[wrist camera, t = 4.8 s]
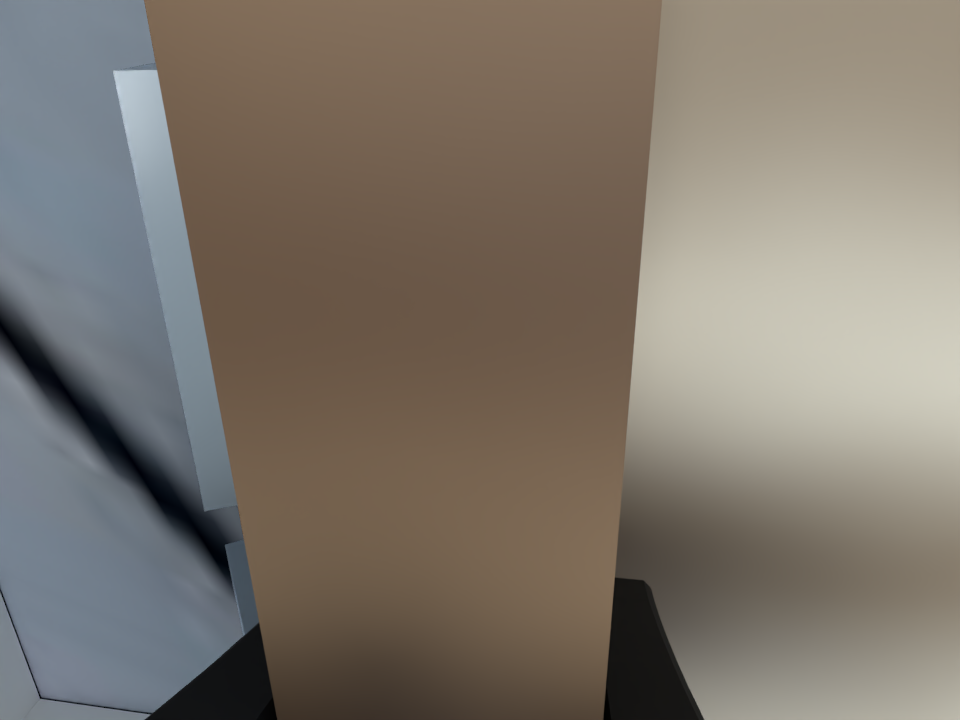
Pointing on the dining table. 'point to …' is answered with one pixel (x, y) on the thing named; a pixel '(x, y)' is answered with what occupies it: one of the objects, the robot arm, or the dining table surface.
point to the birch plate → (802, 359)
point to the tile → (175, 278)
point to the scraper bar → (420, 332)
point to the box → (13, 695)
